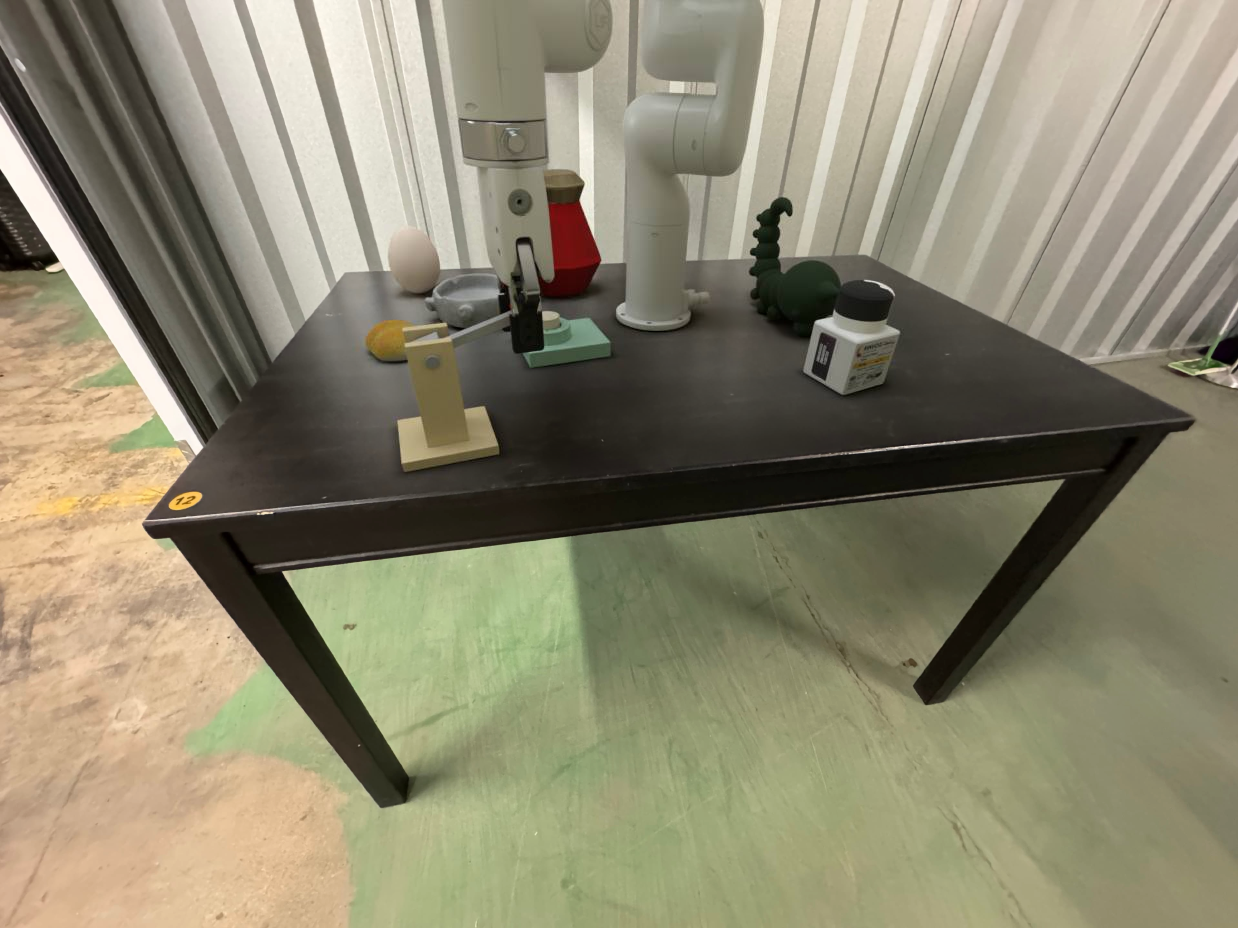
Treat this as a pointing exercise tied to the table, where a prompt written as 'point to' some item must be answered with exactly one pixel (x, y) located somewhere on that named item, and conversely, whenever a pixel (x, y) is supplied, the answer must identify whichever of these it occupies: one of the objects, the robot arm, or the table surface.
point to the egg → (413, 260)
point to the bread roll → (388, 340)
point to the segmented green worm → (790, 277)
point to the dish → (466, 299)
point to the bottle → (568, 237)
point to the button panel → (570, 344)
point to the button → (550, 320)
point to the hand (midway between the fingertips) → (522, 338)
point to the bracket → (440, 407)
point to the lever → (474, 330)
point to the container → (854, 339)
